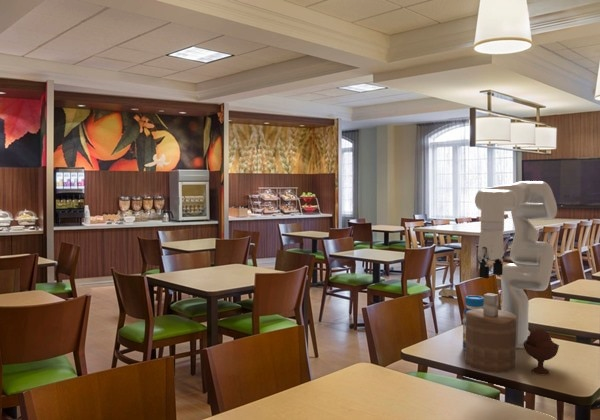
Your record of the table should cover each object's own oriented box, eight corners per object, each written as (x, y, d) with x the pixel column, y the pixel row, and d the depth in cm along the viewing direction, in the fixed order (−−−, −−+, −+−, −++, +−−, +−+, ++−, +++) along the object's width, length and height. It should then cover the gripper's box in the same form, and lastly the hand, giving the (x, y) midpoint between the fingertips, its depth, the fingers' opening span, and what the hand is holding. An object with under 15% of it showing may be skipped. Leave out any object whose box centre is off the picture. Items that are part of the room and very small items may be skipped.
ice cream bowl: (562, 378, 176) (563, 333, 175) (526, 376, 179) (527, 331, 178) (554, 367, 187) (555, 324, 186) (519, 365, 189) (520, 322, 188)
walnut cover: (479, 352, 202) (480, 287, 201) (523, 364, 190) (525, 294, 189) (456, 363, 191) (457, 294, 189) (501, 376, 179) (503, 302, 177)
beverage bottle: (484, 353, 201) (485, 300, 200) (461, 351, 205) (462, 298, 203) (486, 347, 209) (487, 295, 208) (463, 344, 212) (464, 293, 211)
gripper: (493, 224, 196) (492, 272, 197) (469, 227, 184) (468, 277, 185) (514, 226, 191) (512, 274, 192) (490, 228, 179) (489, 280, 180)
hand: (491, 276), depth 188 cm, fingers open, 9 cm apart
